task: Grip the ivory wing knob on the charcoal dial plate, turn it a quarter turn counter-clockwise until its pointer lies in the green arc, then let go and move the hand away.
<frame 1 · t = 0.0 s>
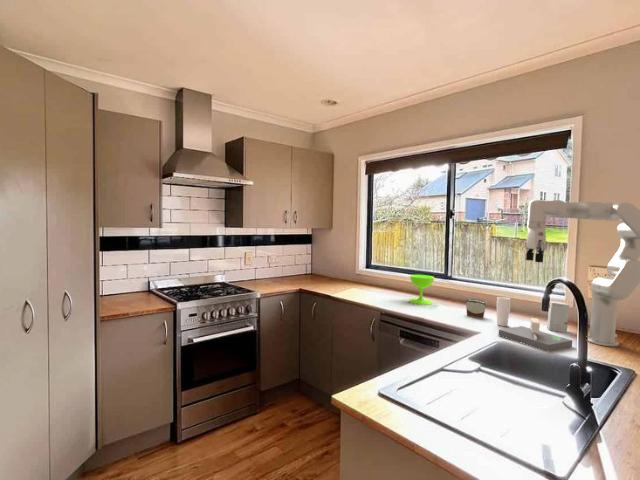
hand: (534, 261, 175), 37 cm above the counter, tool pointing down, fingers open, 9 cm apart
food container: (476, 316, 215), on the counter
drinking glass: (502, 325, 197), on the counter
wineglass: (420, 302, 250), on the counter
dial plate: (533, 340, 170), on the counter
skincare box: (557, 330, 192), on the counter
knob: (535, 328, 168), point 7 cm above the counter, hinge at 0.0°
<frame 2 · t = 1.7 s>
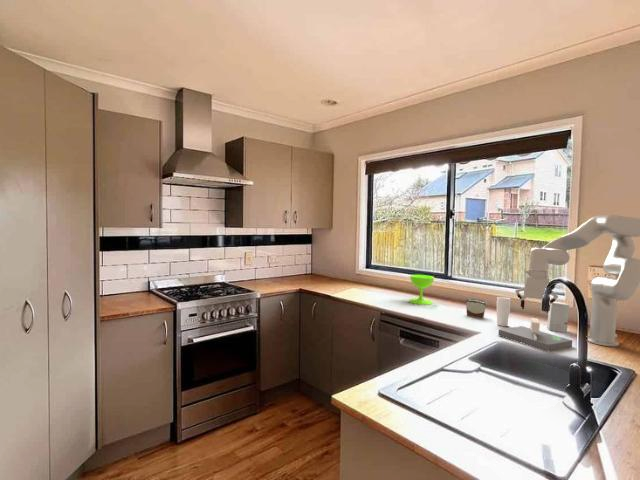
hand: (534, 310, 170), 15 cm above the counter, tool pointing down, fingers open, 9 cm apart
nothing on the counter moved.
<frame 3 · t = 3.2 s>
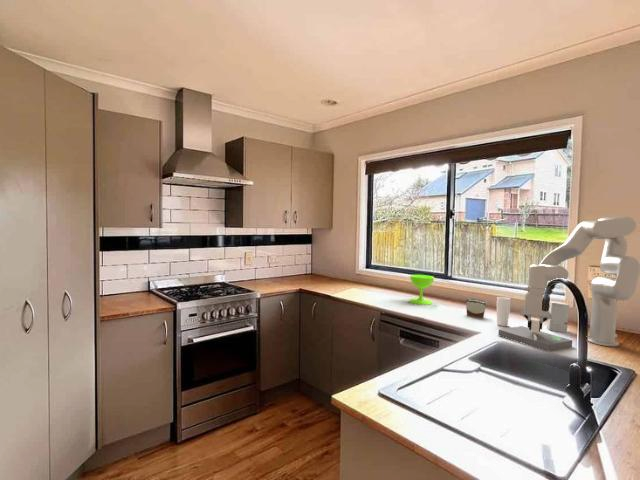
hand: (534, 329, 170), 5 cm above the counter, tool pointing down, fingers closed on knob, 3 cm apart
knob: (535, 328, 168), point 7 cm above the counter, hinge at 0.0°, touching gripper
everything else where it was.
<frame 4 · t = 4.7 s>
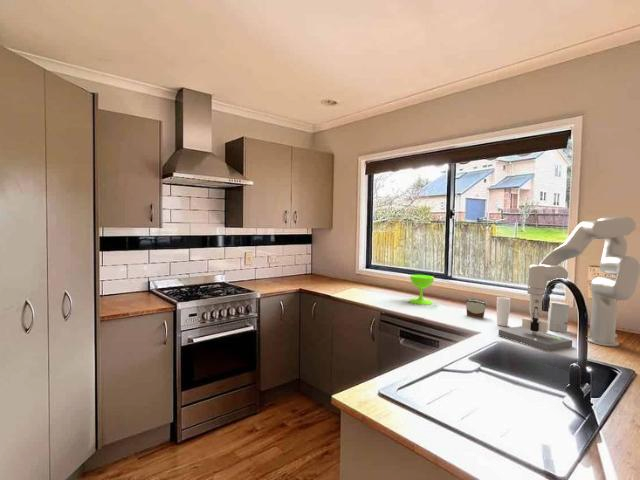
hand: (534, 329, 170), 5 cm above the counter, tool pointing down, fingers closed on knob, 4 cm apart
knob: (540, 328, 168), point 7 cm above the counter, hinge at 71.8°, touching gripper
everything else where it was.
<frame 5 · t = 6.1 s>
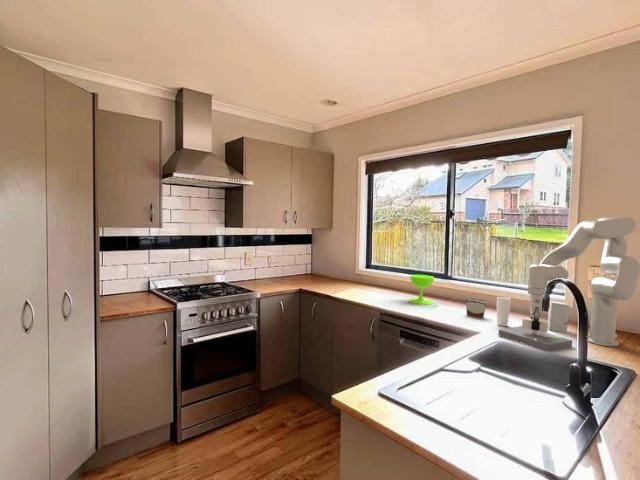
hand: (534, 327, 170), 6 cm above the counter, tool pointing down, fingers open, 8 cm apart
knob: (540, 328, 168), point 7 cm above the counter, hinge at 78.8°
everything else where it was.
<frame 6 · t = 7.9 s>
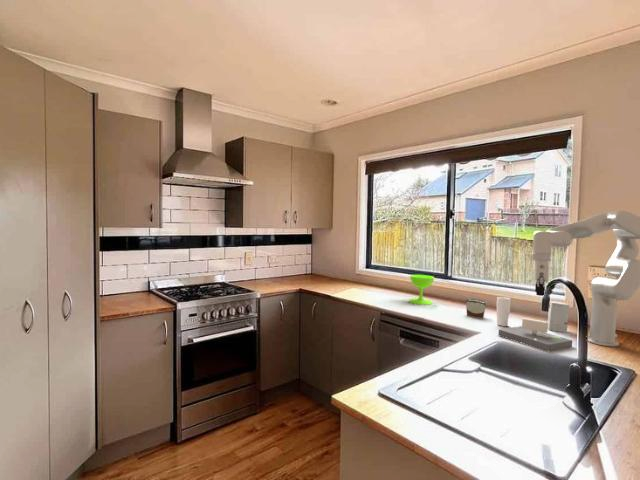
hand: (539, 293, 169), 23 cm above the counter, tool pointing down, fingers open, 9 cm apart
nothing on the counter moved.
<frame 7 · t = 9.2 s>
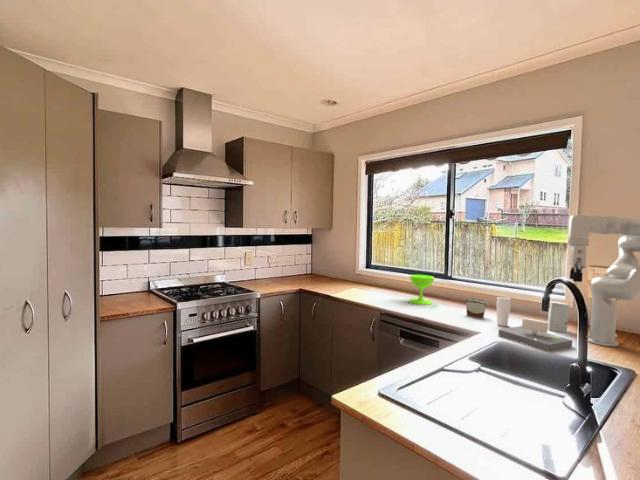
hand: (575, 280, 163), 30 cm above the counter, tool pointing down, fingers open, 9 cm apart
nothing on the counter moved.
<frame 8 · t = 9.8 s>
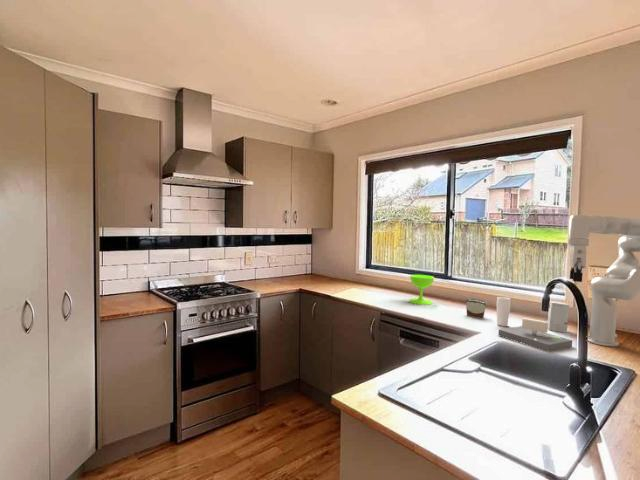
hand: (575, 280, 163), 30 cm above the counter, tool pointing down, fingers open, 9 cm apart
nothing on the counter moved.
at the end: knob at +79° (first picture: +0°); the gripper is holding nothing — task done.
